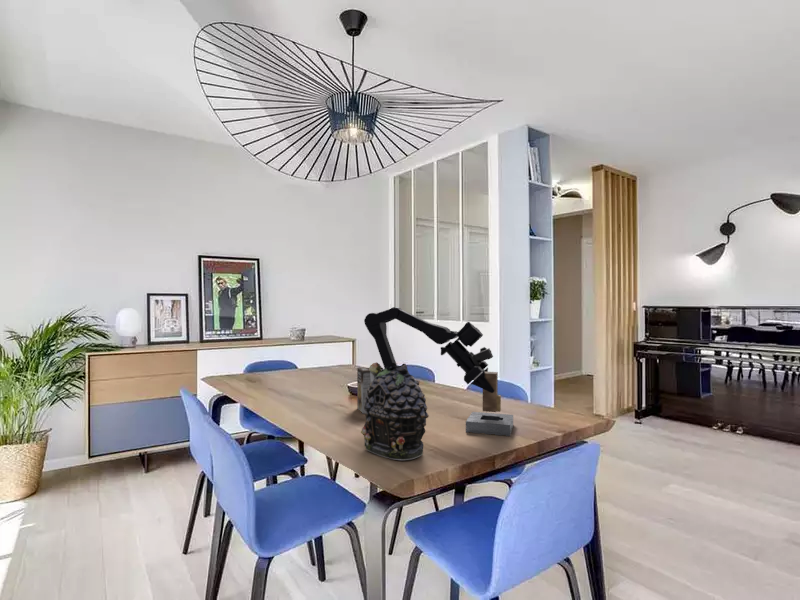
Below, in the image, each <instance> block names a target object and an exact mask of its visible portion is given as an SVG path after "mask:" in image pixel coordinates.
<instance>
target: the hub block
mask: <svg viewBox="0 0 800 600" xmlns="http://www.w3.org/2000/svg"><path fill="white" fill-rule="evenodd" d="M513 428H514V414H506V413H496V412H483V411H482V412H480V411H472V412H471V413H470V414H469V416H468V417H467V419H466V421H465V433H469V432H472V433H471V434H480V433H485V434H484V435H491V434H495V435H494V436H502V435H506V437H511V434H512V432H513Z"/></svg>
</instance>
